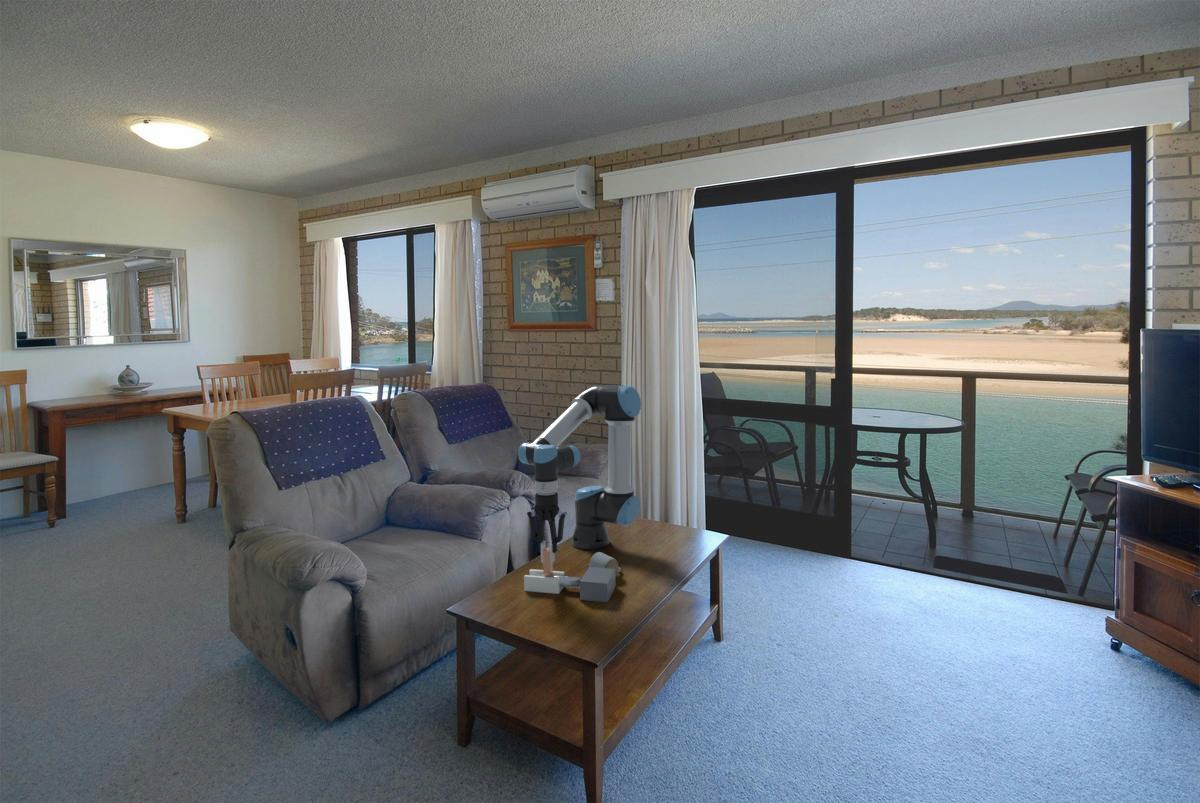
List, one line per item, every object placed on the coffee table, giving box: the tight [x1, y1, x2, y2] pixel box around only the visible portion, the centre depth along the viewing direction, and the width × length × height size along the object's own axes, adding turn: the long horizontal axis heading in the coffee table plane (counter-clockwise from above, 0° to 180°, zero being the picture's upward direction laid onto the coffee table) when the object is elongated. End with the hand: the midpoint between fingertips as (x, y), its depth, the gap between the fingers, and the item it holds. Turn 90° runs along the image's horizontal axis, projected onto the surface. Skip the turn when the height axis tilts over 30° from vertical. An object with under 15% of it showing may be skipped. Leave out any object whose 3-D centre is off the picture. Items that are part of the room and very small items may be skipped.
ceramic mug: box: [588, 551, 622, 576], centre depth 216 cm, size 11×8×8 cm
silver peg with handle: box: [533, 547, 582, 589], centre depth 203 cm, size 3×16×12 cm, turn 76°
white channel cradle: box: [523, 568, 565, 595], centre depth 205 cm, size 6×12×5 cm, turn 76°
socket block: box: [579, 567, 617, 603], centre depth 201 cm, size 12×9×6 cm
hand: (547, 561), depth 204 cm, fingers closed on silver peg with handle, 2 cm apart
